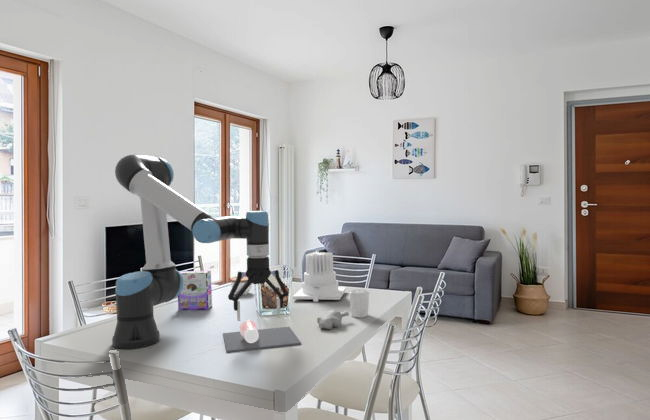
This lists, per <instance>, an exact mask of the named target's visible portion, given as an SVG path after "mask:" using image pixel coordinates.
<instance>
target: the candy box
mask: <svg viewBox="0 0 650 420" xmlns="http://www.w3.org/2000/svg"><path fill="white" fill-rule="evenodd" d="M179 273H180V274H181V275H182V278H183V288H182V291H181V293H180V294H179V295H178V296H177V303H178V304H177V306H178V308H177V309H178V311H188V310H189V311H191V310H193V311H194V310H195V311H198V310H199V311H200V310H203V311H204V310H205V311H206V310H210V309H211V308H212V307H213V295H212V289H213V287H212V271H211V270H189V271H186V270H184V271H179Z"/></svg>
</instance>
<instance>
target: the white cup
mask: <svg viewBox="0 0 650 420" xmlns="http://www.w3.org/2000/svg"><path fill="white" fill-rule="evenodd" d="M369 300H370V291H369V290H368V289H365V288H355V289H350V290H349V304H350V305H349V306H350V315H351V317H352V318H360V319H361V318H367V317H368V316H369V305H370V304H369V303H370V302H369Z"/></svg>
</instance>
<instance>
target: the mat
mask: <svg viewBox="0 0 650 420" xmlns="http://www.w3.org/2000/svg"><path fill="white" fill-rule="evenodd" d="M257 330H258V334H259V337H258V340H257V341H256V342H254V343H248V342H247V341H246V340H245V338H244V337H243V336H242V335H241V333H240V331H232V332H231V331H230V332H223V333H222V337H223V342H224V346H225V351H226V353H227V354H228V353H236V352H244V351H245V352H246V351H252V350H263V349H272V348H273V349H274V348H279V347H281V348H282V347H290V346H291V347H292V346H298V345H302V342H301V340H300V339H299V338H298V336H297V335H296V334H295V332H294V331H293V330H292V329H291V327H290V326H283V327H273V328H263V329H262V328H261V329H257Z"/></svg>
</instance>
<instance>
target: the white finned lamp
mask: <svg viewBox="0 0 650 420" xmlns="http://www.w3.org/2000/svg"><path fill="white" fill-rule="evenodd" d="M336 275H337V274H336V271H334V254H333V253H332V252H324V251H323V252H319V251H313V252H310V253H307V254H305V272H303V281H302V282H301V288H300V289H299V290H298V291H296V293H294V295H292V300H312V302H314V303H318V302H319V300H321V301H322V300H325V301H326V300H331V301H332V300H334V301H335V300H336V301H337V300H339V301H340V300H341V299H342V297H343V295H344V294H345V292H346V291H347V287H346V286H339V281H338V280H337V276H336Z"/></svg>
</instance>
